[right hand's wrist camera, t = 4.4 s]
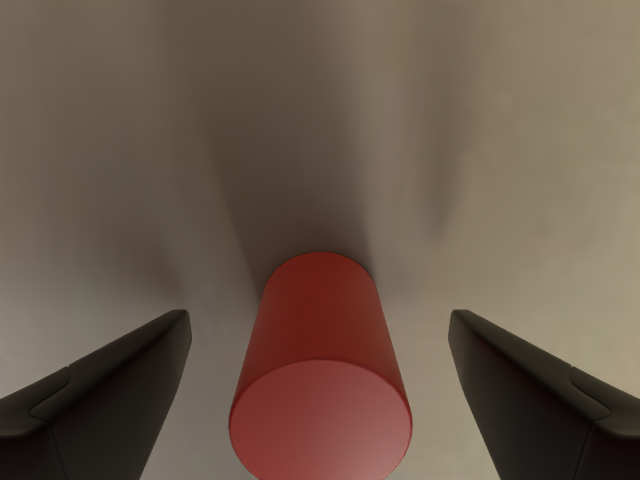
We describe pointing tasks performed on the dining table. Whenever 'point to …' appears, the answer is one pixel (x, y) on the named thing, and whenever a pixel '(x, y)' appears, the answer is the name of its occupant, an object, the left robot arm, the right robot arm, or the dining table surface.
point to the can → (320, 378)
